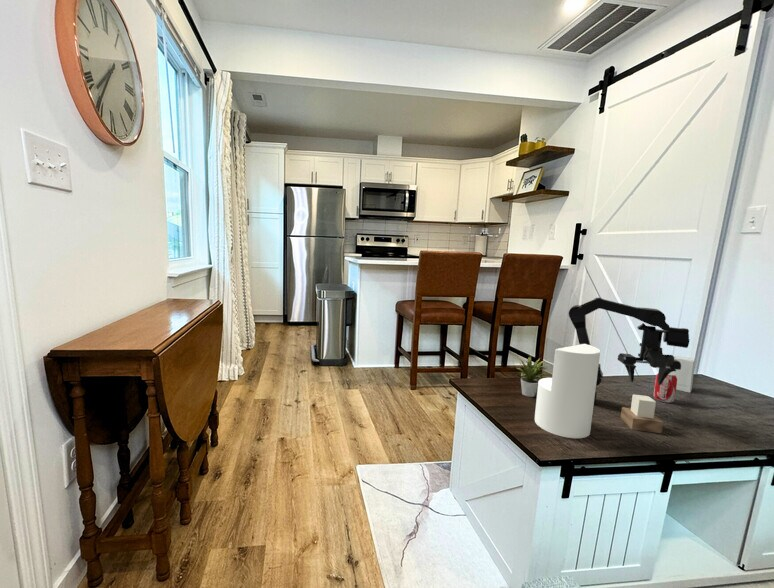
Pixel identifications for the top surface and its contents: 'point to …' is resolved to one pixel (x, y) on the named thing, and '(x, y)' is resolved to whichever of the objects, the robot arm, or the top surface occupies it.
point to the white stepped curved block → (569, 392)
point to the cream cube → (643, 406)
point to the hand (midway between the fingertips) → (645, 383)
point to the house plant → (530, 377)
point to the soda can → (666, 388)
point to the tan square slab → (641, 421)
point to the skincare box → (684, 373)
